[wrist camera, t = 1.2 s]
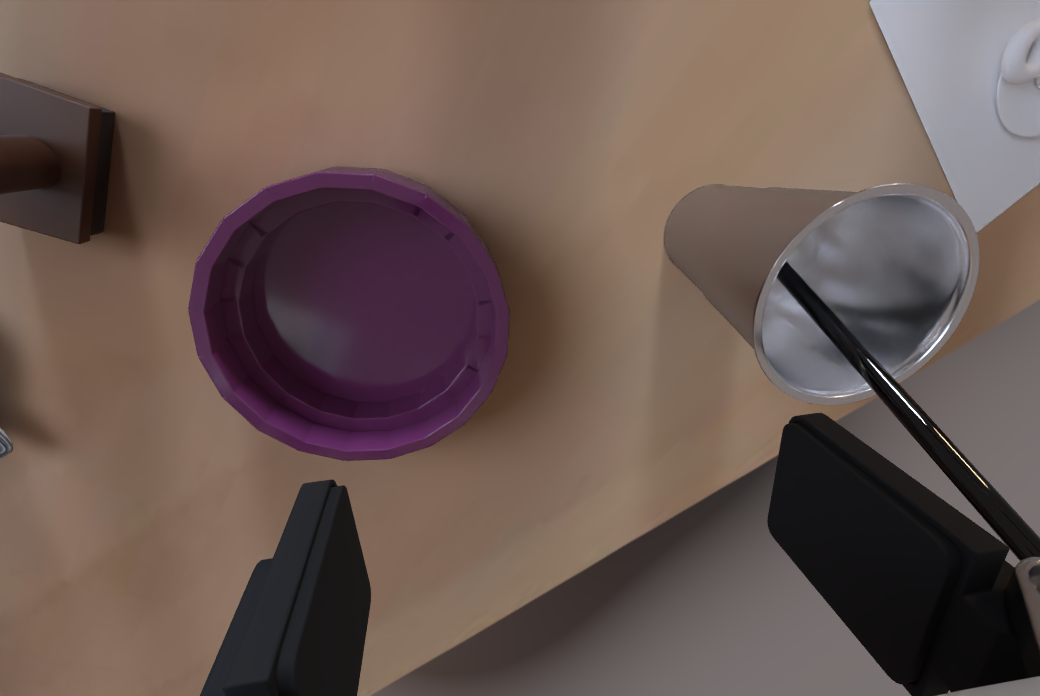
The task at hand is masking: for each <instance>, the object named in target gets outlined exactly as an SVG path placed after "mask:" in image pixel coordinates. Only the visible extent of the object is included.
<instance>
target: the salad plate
mask: <svg viewBox="0 0 1040 696" xmlns="http://www.w3.org/2000/svg"><path fill="white" fill-rule="evenodd" d="M12 450H13V444H12V442H11V440H10V439H9V437H8V436H7V435H6V434H5V432H4V431H3V430H2V429H1V428H0V458H2V457H4V456H6V455H8V454H9V453H10V452H12Z"/></svg>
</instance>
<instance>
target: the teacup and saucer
mask: <svg viewBox="0 0 1040 696" xmlns="http://www.w3.org/2000/svg"><path fill="white" fill-rule="evenodd" d="M1032 80H1034V82H1035V85H1036V86H1037V87H1038V88H1039V89H1040V17H1039V18H1037V19H1035V20H1032V21H1029V22H1027V23H1026V24H1024V25H1023V26H1021V27H1020V28H1019V29H1018V30H1017V31H1016V32H1015V33H1014V34H1013V35H1012V36H1011V38H1010V39H1009V41H1008V42H1007V44H1006V46H1005V48H1004V50H1003V53H1002V56H1001V60H1000V75H999V78H998V82H997V87H996V110H997V114H998V117H999V119H1000V121H1001V123H1002V125H1003V126H1004V127H1005V128H1006V129H1007V130H1008V131H1009V132H1010V133H1012V134H1013V135H1015V136H1018V137H1022V138H1035V137H1040V93H1037V92H1038V91H1037V90H1036V91H1033V90H1034V89H1033V88H1032V89H1030V88H1031V87H1032V86H1031V85H1030V84H1031V83H1030V81H1032Z"/></svg>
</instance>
